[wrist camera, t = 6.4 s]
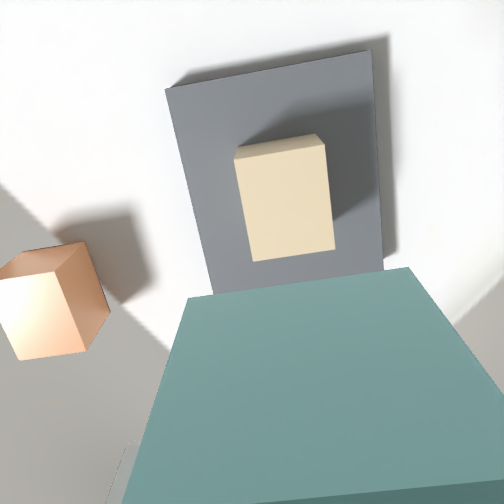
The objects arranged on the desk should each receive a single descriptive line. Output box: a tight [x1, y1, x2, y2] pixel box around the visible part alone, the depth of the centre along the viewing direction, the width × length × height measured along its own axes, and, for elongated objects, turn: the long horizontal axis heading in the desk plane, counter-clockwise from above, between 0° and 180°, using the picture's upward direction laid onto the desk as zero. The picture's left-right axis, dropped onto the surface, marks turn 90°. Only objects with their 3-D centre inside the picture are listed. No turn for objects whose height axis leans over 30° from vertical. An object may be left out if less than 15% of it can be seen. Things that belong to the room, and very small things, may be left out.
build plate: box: [165, 50, 384, 295], centre depth 26 cm, size 14×12×6 cm
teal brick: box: [121, 267, 504, 504], centre depth 8 cm, size 6×5×5 cm
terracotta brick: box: [0, 242, 110, 360], centre depth 30 cm, size 6×5×5 cm
